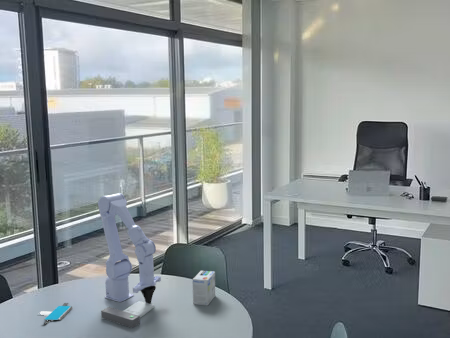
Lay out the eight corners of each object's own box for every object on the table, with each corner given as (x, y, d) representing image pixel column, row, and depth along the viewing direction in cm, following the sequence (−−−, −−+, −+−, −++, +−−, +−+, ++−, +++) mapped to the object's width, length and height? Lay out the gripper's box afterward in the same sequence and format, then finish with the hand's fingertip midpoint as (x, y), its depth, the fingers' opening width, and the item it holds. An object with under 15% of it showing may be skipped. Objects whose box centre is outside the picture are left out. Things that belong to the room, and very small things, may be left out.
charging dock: (101, 318, 179) (101, 310, 179) (109, 314, 183) (109, 306, 182) (132, 328, 171) (132, 319, 170) (140, 323, 174) (139, 315, 174)
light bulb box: (200, 294, 201) (200, 269, 200) (215, 295, 199) (215, 271, 198) (192, 304, 191) (191, 278, 189) (208, 305, 189) (207, 280, 188)
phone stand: (51, 304, 194) (50, 300, 194) (78, 305, 193) (78, 301, 193) (26, 326, 175) (25, 322, 174) (56, 327, 173) (56, 323, 173)
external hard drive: (154, 308, 188) (136, 321, 177) (137, 304, 191) (118, 317, 180) (154, 304, 188) (136, 316, 177) (137, 301, 191) (118, 313, 180)
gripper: (141, 278, 179) (143, 312, 181) (165, 267, 191) (167, 299, 193) (128, 275, 183) (129, 309, 185) (152, 264, 195) (154, 296, 197)
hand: (148, 303), depth 189 cm, fingers closed, pressing on external hard drive
